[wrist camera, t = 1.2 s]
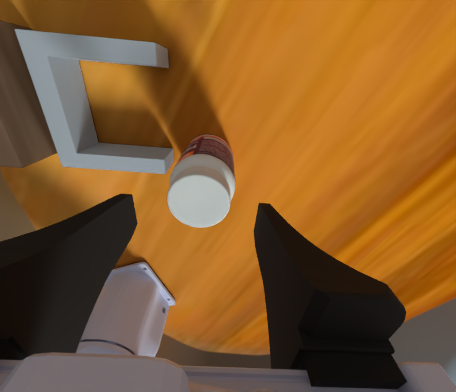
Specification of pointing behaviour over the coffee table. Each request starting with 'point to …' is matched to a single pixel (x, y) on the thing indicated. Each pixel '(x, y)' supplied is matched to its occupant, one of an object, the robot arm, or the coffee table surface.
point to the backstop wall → (20, 107)
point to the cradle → (78, 101)
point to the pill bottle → (202, 182)
